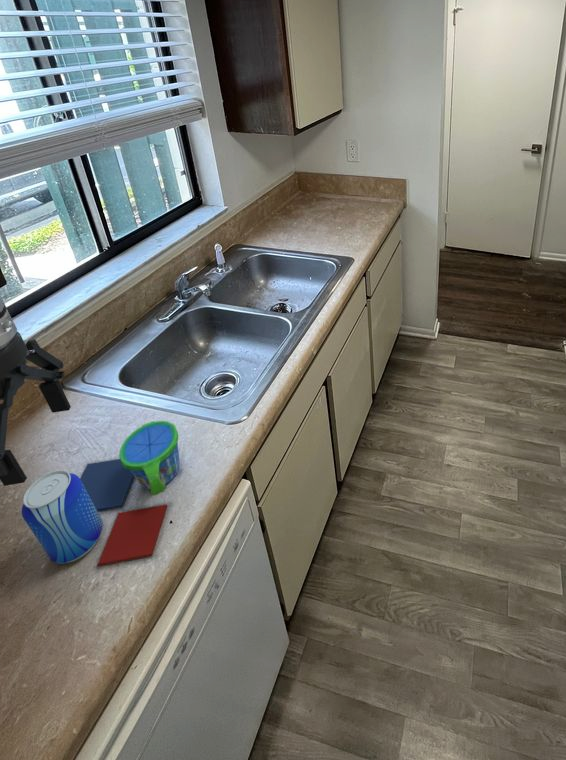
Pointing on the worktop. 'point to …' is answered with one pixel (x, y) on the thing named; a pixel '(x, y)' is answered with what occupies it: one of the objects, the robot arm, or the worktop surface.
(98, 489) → the blue mat
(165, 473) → the snack cup
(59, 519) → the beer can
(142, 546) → the red mat
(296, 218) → the worktop surface
